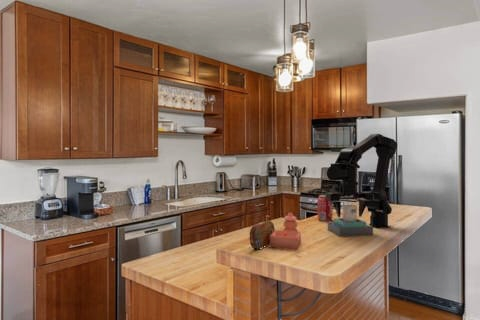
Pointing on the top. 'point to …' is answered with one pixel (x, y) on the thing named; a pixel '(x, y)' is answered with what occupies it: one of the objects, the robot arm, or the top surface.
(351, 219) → the grey rounded block
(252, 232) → the brown rounded slab
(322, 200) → the soda can
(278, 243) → the pottery
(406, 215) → the top surface
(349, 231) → the teal-collared square flange
